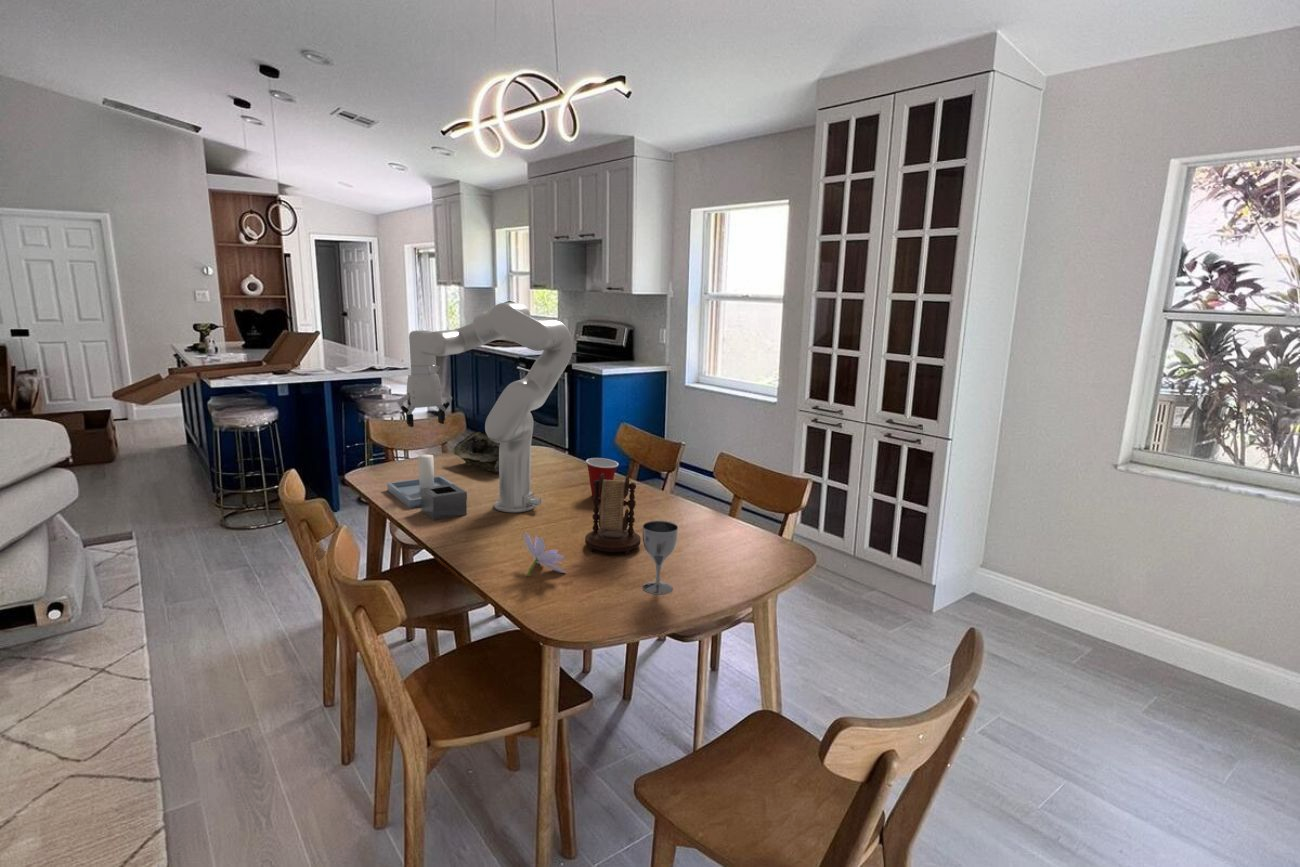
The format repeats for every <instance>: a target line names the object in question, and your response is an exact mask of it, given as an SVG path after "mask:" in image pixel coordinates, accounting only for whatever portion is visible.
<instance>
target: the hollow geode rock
mask: <svg viewBox="0 0 1300 867" xmlns="http://www.w3.org/2000/svg"><path fill="white" fill-rule="evenodd" d="M499 448H500V443H497V442H494V441H492V440H491V439H490V438H489V437H488V436H487V434H486V433H481V431H474V432H472V433H470V434H469V435H468V436H466V437H465V438H464V439H463V440H461V441H459V442H458V443H456V445H455V446H454V448H453V451H452V453H453V455H454V456H457V457H458V458H460V459H461V460H463V461H464V462H465V466H472V465H475V466H479V467H481V468H483V469H484V470H488V471H489V472H493V473H495V474H497V475H499Z"/></svg>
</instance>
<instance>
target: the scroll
mask: <svg viewBox="0 0 1300 867" xmlns="http://www.w3.org/2000/svg"><path fill="white" fill-rule="evenodd" d="M593 485H594V486H595V487H594V489H595V491H594V496H595V497H593V496H592V497H593V498H592V504H593V506H594V508H593V510H592V512H593V514H592V520H593V521H592V523H593V525H592V531H590V532H588V533H586V535H585V536H584V537H585V539H584V543H585V545H586V546H587V547H589V551H590V552H593V551H594V550H597V551H601V552H602V551H603V552H608V553H613V552H614V553H617V552H624V553H625V555H626V556H628V555H629V553H630V551H631V550H634V549H637V548H638V547H639V546H640V545H641V539H642V538H641V536H640V535H639V534H638V533H636V532H635V529H634V527H633V526H634V525H635V524H634V523H635V522H636V518H635V517H634V516H635V512H634V511H635V510H634V509H635V507H636V500H635V498H636V497H635V496H636V495H635V492H636V490H635V489H636V488H637V485H636V483H635V482H631V483H630V476H629V475H628V474H627V475H626V476H625V479H624V480H617V479H616V480H614V479H613V480H605V479H604V474H603V473H602V474H601V476H600V480H595V481H594V482H593ZM598 489H599V490H598ZM599 493H600V494H601V499H600V498H599ZM628 495H629V496H628ZM627 496H628V498H629V500H626V499H627ZM599 506H600V508H599ZM626 506H627V507H628V508H626V509H625V512H624V507H626Z"/></svg>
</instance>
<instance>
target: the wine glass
mask: <svg viewBox="0 0 1300 867" xmlns="http://www.w3.org/2000/svg"><path fill="white" fill-rule="evenodd" d="M678 529H679V528H678V525H677V524H676V523H674V522H672V521H667V520H651V521H650V520H649V521H646V522H645V523H643V525H642V541H643V547H644V550H645V551H646V553H647V554H648V555H649V556H650V557H651V559H652V561H653V562H654V564H655V570H656V574H655V575H656V580H651V581H648V582H645V583H644V584H642V586H641V587H642V590H643V591H644V592H646V593H648V594H651V595H665V594H669V593H671V592H672V591H673V590H674V587H673V585H671V584H670V583H668V582H664V581H662V580H660V579H661V578H660V577H661V576H660V575H661V569H662V565H663V563H664V562H665V561H666V559H667V558H668V557H669V556H670V555H672V553H674V550H675V548H676V544H677V540H678V532H679V531H678Z"/></svg>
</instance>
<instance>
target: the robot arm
mask: <svg viewBox="0 0 1300 867" xmlns="http://www.w3.org/2000/svg"><path fill="white" fill-rule="evenodd" d="M502 338H507V339H509V340H510V341H513V343H514V342H515V343H517V344H518V345H521V347H524V348H526V349H528V350H531V351H536V352H539V351H540V352H541V351H542V353H541V354H540V355H539V356H538V358H537V359H536V360H535V361H534V363H533V364H532V366H531V368H530V370H529V371H528V373H527V374H526V375H525V376H524V378H522V379H519V380H514V381H512V382H510V383H509V384H508V385H506V387H505V388H504V389H503V391H502V392H501V394H500V395H499V397H498V398H497V400H496V402H495V404H494V405H493V407H492V409H490V412H489V413H488V414H487V417H486V419H485V422H484V423H485V424H484V430H485V434H486V435H487V436H488V437H489V438H490V439H491V440H492V441H494V442H497V443H500V448H499V474H498V479H499V480H498V485H499V486H498V487H499V489H498V492H499V495H498V497H499V499H497V500H495V502H494V503H493V506H494V507H493V508H494V509H495V510H497V511H499V512H504V513H523V512H528V511H531V510H533V509H535V507H536V506H538V507H540V506H542V498H541V497H535V495H534V494H535V493H534V491H531V489H532V488H531V484H532V483H531V480H532V479H531V471H532V470H531V467H532V465H531V464H532V462H531V459H532V458H531V456H532V439H533V432H534V424H535V423H534V418H533V415H532V413H531V411H535V410H538V409H539V408H541V407H542V406H543V405H544V404H545V403H546V401H547V399H548V398H549V395H550V394H551V392H552V391H553V389H554V388H555V387H556V385H557V383H558V381H559V379H560V378H561V376H562V375H563V373H564V372H565V370H566V367H567V366H568V364H569V363H570V360H571V359H572V355H573V349H574V341H573V337H572V333H571V332H570V330H569V328H568V327H567V326H566V325H565V324H564V323H563V322H561V321H559V320H555V319H542V320H540V319H539V320H537V319H536V318H534V317H532V316H531V313H530V310H529V308H527V306H525V304H522V303H519V302H501V303H498V304H495V305H494V306H493V307H492V308H491V309H490V310H489V311H486V312H484V313H481V314H478V315H476V316H475V317H474V319H473V321H472V323H469V324H467V325H465V326H461V327H458V328H456V329H445V330H436V331H431V330H412V331H410V333H409V335H408V343H409V359H410V363H409V364H410V374H409V375H408V376H407V382H406V394H405V395H404V396H402V397H400V398H399V399H397V400H396V404H397V405H398V408H399V409H400V410H401V411H402V412H403V413H405V417H406V419H405V420H406V424H407V426H408V427H410V428H414V426H415V425H414V414H413V412H414V411H415V409H423V408H430V407H434V408H435V407H437V408H438V410H437V419H438V420H437V421H438V423H439V424H441V425H444V423H445V420H446V416H445V412H446V411H447V409H448V408H449V407H450V404H451V402H452V401H453V396H451V395H449V394H447V393H445V392H443V391H442V386H441V381H440V380H441V379H440V376H439V374H437V373H438V372H439V371H441V366H440V365H439V366H438V365H437V364H436V363H437V361H436V360H437V358H436V356H437V357H443V356H445V357H446V356H449V355H450V356H452V355H458V354H463V353H465V352H468V351H470V350H474V349H476V348H478V347H481V346H484V345H487V344H488V343H492V342H493V341H496V340H498V339H502ZM443 398H444V399H445V402H444V403H443ZM404 402H406V405H407V407H406V406H405V405H404Z"/></svg>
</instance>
